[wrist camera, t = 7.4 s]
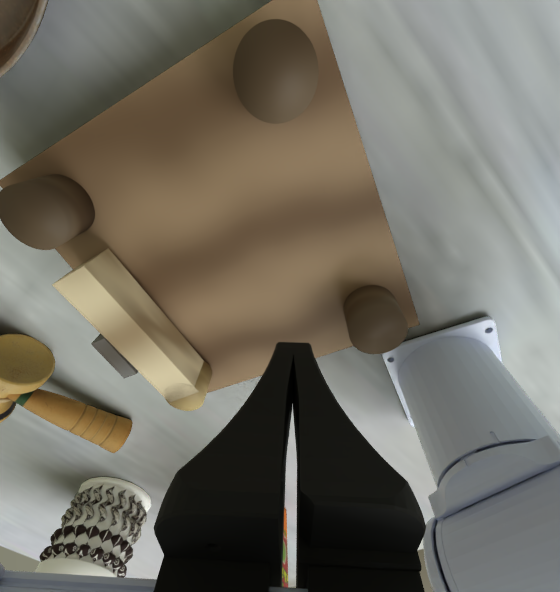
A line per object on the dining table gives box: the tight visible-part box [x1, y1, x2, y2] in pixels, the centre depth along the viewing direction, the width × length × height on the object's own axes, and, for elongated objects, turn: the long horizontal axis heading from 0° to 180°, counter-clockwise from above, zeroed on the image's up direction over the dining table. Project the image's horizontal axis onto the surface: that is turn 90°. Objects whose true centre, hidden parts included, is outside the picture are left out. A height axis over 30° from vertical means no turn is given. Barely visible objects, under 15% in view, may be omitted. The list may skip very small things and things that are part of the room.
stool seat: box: [0, 0, 420, 393], centre depth 18 cm, size 18×18×5 cm
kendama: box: [0, 334, 132, 453], centre depth 26 cm, size 8×6×18 cm
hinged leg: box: [53, 248, 212, 411], centre depth 20 cm, size 11×3×2 cm, turn 28°
